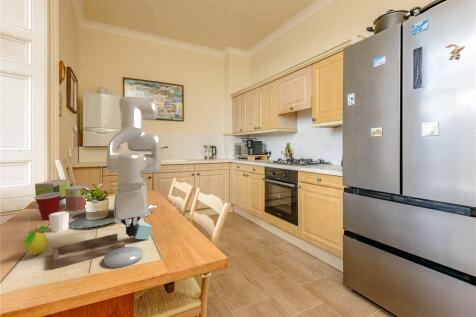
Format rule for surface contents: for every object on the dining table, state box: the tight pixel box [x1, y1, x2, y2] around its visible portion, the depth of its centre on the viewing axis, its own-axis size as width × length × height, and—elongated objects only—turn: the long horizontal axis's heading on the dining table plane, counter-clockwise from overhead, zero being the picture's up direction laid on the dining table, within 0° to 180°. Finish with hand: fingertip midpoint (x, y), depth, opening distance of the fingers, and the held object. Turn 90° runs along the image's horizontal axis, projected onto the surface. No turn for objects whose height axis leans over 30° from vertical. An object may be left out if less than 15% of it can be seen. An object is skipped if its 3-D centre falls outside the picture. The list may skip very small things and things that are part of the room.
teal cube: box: [132, 221, 153, 241], centre depth 89 cm, size 5×5×5 cm
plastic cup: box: [33, 192, 62, 221], centre depth 112 cm, size 11×11×12 cm
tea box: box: [34, 178, 71, 210], centre depth 136 cm, size 15×10×15 cm
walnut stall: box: [52, 233, 126, 270], centre depth 77 cm, size 19×11×2 cm, turn 131°
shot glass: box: [49, 211, 70, 233], centre depth 98 cm, size 7×7×7 cm
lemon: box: [23, 225, 49, 256], centre depth 75 cm, size 7×6×10 cm
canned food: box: [65, 185, 90, 212], centre depth 131 cm, size 11×11×12 cm
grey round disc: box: [103, 246, 143, 269], centre depth 73 cm, size 11×11×2 cm
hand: (130, 235), depth 86 cm, fingers closed
